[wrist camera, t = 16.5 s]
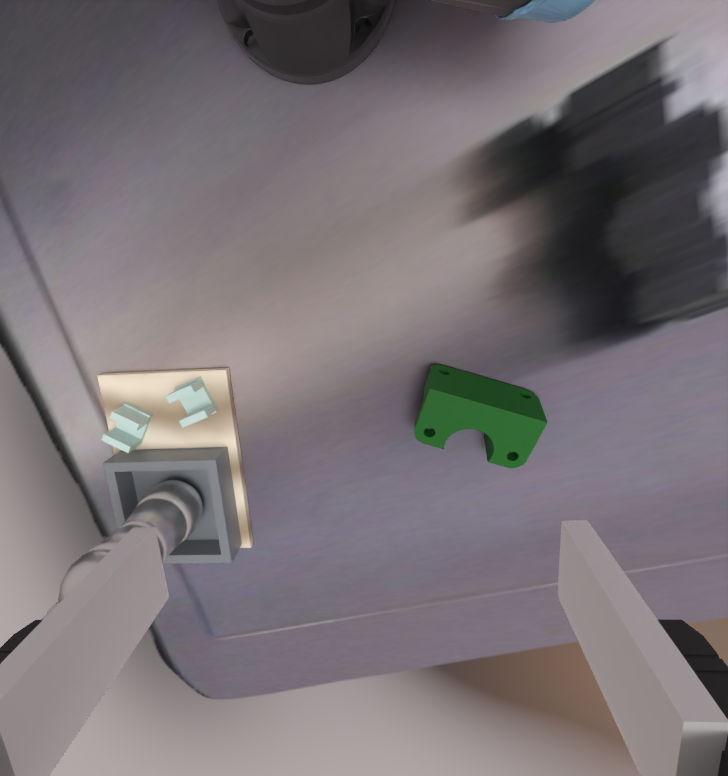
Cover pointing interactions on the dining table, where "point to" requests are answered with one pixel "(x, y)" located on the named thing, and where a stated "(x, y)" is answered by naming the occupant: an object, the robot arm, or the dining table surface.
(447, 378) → the clamp
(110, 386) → the board
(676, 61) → the dining table surface
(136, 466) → the holder
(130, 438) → the clip
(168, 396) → the clip
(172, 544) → the plastic bottle
